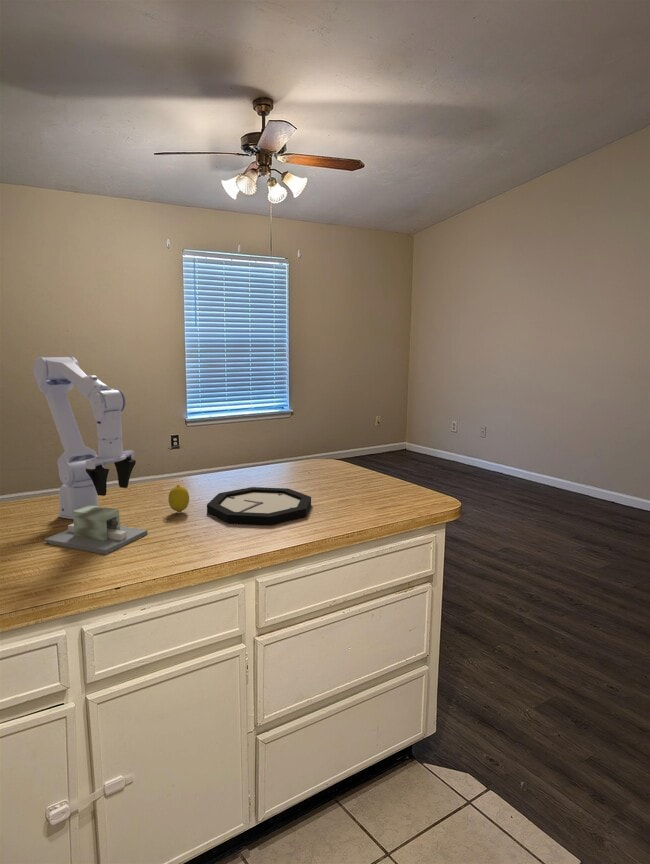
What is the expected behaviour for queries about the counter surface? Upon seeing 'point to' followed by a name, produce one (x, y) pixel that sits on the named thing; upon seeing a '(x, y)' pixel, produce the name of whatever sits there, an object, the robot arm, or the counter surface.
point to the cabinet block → (95, 521)
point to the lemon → (178, 498)
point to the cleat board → (94, 545)
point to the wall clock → (259, 506)
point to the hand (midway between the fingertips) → (112, 491)
